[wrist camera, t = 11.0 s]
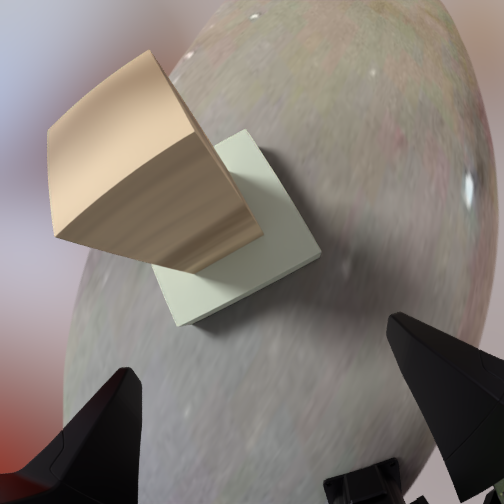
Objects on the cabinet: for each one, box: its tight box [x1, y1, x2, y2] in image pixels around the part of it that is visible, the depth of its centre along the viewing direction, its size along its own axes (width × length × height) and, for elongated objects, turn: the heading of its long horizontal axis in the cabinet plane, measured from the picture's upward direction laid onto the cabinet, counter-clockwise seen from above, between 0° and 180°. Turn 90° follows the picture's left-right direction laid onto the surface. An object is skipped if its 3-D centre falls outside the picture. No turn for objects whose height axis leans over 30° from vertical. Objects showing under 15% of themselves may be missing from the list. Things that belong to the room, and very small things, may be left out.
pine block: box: [47, 50, 264, 274], centre depth 13 cm, size 6×6×12 cm
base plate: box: [151, 129, 322, 327], centre depth 20 cm, size 11×11×2 cm
